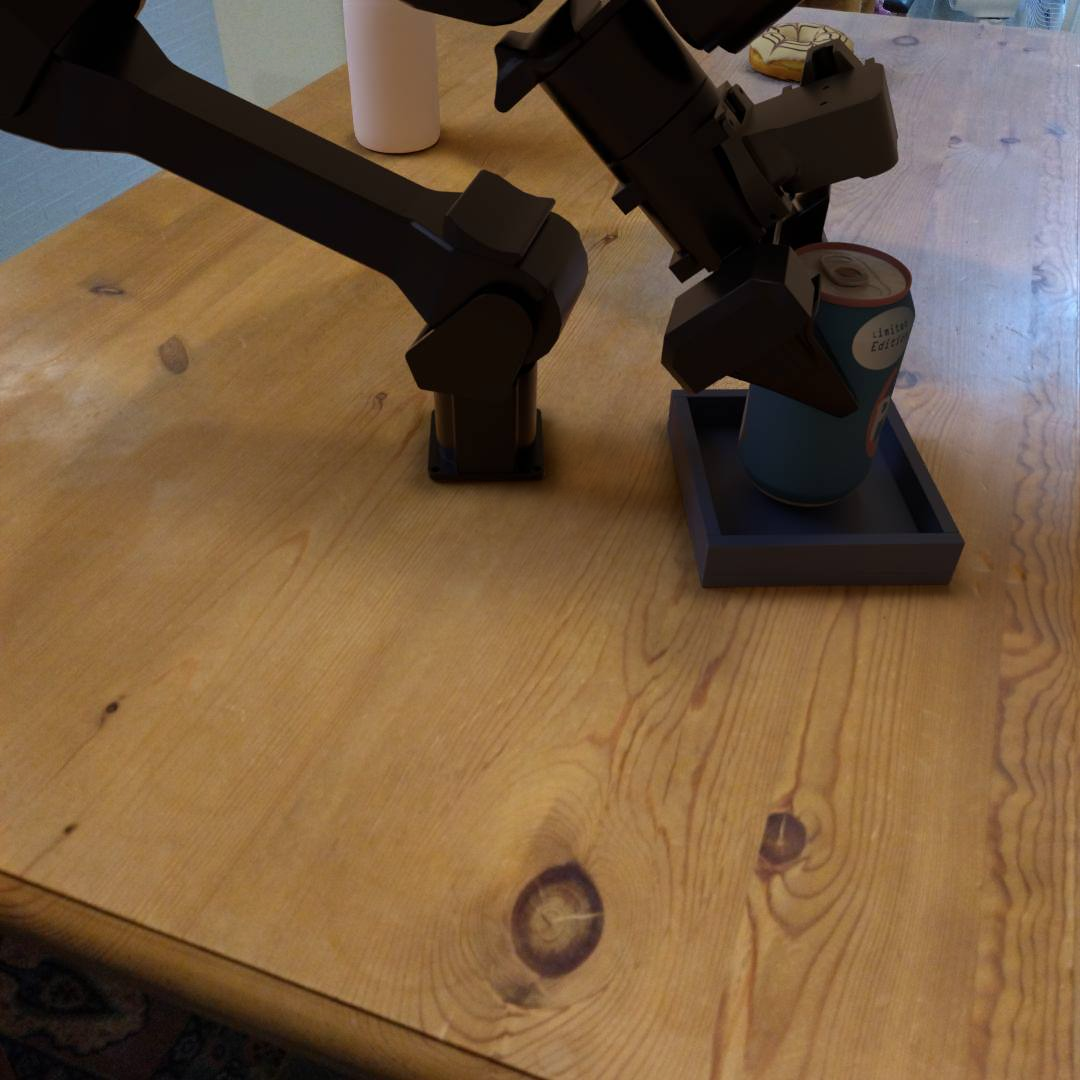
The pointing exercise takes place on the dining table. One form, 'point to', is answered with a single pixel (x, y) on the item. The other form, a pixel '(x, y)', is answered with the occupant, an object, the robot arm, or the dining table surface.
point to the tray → (806, 510)
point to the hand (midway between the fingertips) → (852, 373)
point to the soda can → (868, 363)
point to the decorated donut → (790, 48)
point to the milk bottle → (392, 75)
